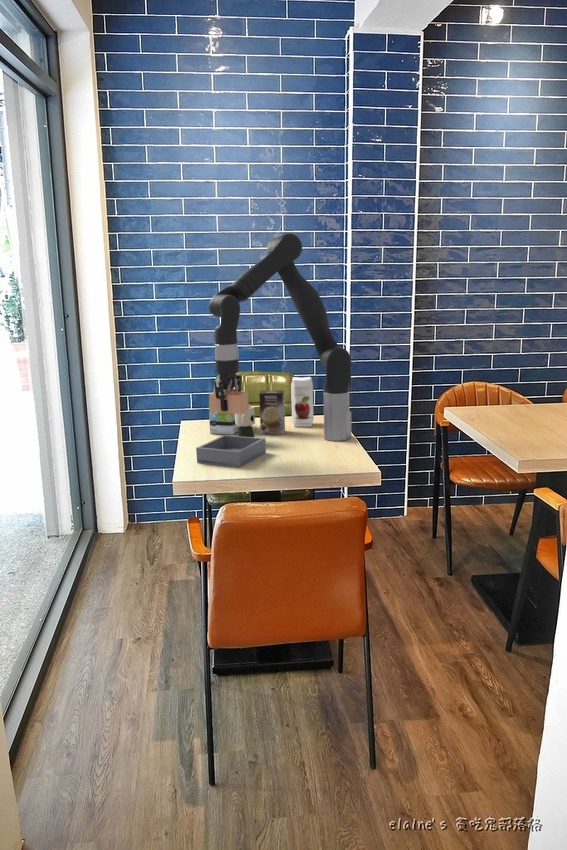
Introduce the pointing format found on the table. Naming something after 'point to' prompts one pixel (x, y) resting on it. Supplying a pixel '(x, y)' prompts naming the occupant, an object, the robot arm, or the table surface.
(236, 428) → the tea box
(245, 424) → the character mug
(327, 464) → the table surface
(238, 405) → the terracotta crate
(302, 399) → the juice carton
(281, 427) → the coffee box
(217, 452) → the charcoal crate
